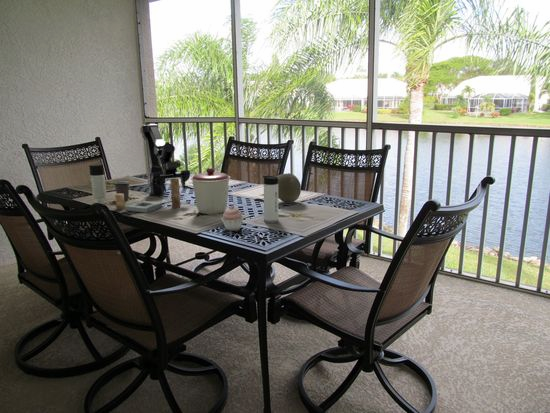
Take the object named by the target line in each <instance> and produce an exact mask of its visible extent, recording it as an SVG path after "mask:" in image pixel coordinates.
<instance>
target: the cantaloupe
mask: <svg viewBox="0 0 550 413" xmlns="http://www.w3.org/2000/svg"><path fill="white" fill-rule="evenodd" d="M276 177H277V178H278V200H279V201H281V202H284V203H293V202H296V201H297V200H298V199H299V198H300V196H301V192H302V190H301V188H302V185H301V182H300V180H299V179H298V177H297V176H296V175H295V174H293V173H281V174H278V175H276Z"/></svg>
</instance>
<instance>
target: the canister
mask: <svg viewBox="0 0 550 413" xmlns="http://www.w3.org/2000/svg"><path fill="white" fill-rule="evenodd" d="M230 179H231V176H230V175H228V174H227V173H224V172H218V171H217V172H215V168H214V167H211V166H210V167H207V168H206V172H201V173H197V174H194V175H193V176H192V177H190V180H191V181H192V187H193V192H194V193H193V194H194V200H195V204H196V209H197V211H198V212H199V213H200V214H203V215H217V214H218V215H219V214H221V213H224V212H225V210H226V209H227V207H228V206H227V205H228V197H229V196H228V195H229V187H230V186H229V183H230Z"/></svg>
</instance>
